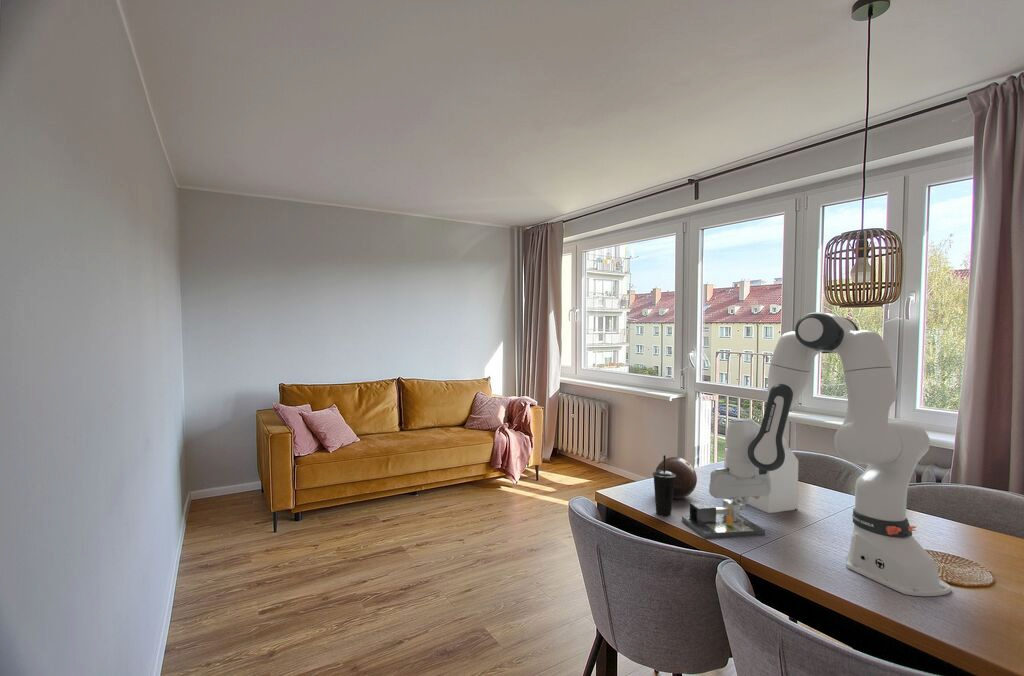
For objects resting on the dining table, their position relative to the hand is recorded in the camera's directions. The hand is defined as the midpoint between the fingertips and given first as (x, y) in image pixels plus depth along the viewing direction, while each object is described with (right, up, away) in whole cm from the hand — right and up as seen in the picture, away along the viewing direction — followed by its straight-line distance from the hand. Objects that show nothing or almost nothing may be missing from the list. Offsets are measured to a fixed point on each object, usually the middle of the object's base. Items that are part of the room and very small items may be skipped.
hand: (739, 509), depth 164 cm
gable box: (+17, -4, +21) cm, 27 cm away
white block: (-7, -2, -3) cm, 8 cm away
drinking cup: (-22, -4, +8) cm, 24 cm away
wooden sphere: (-13, -4, +24) cm, 28 cm away
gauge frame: (-7, -4, -4) cm, 10 cm away
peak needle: (-6, -2, -7) cm, 10 cm away
